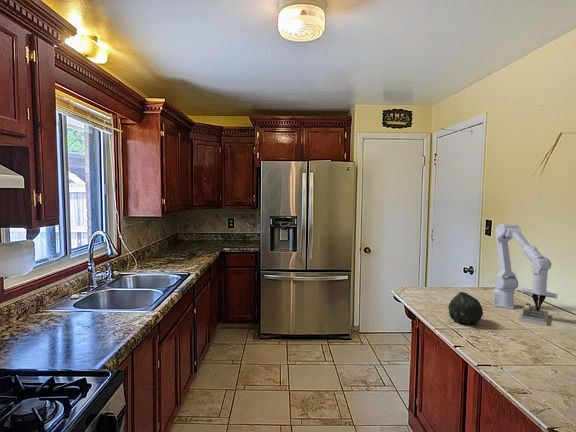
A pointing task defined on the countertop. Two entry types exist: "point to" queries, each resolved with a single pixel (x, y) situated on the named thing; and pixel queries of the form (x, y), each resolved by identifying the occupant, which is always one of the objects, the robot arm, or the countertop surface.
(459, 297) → the squash
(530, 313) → the panel
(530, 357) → the countertop surface
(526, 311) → the breaker
